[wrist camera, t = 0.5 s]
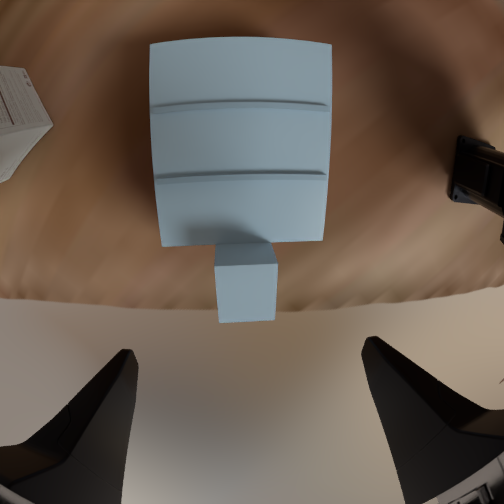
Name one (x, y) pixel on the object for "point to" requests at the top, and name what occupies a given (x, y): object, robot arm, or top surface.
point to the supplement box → (19, 119)
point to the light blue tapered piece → (241, 155)
